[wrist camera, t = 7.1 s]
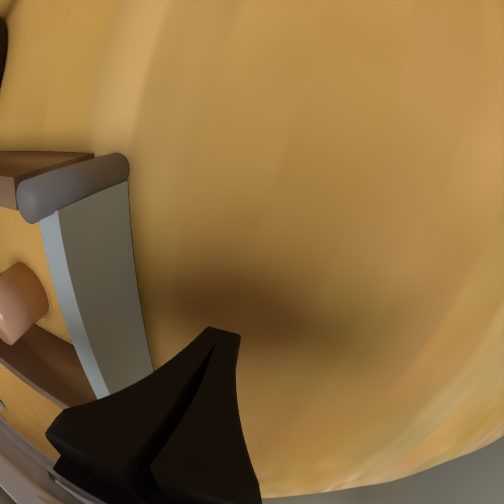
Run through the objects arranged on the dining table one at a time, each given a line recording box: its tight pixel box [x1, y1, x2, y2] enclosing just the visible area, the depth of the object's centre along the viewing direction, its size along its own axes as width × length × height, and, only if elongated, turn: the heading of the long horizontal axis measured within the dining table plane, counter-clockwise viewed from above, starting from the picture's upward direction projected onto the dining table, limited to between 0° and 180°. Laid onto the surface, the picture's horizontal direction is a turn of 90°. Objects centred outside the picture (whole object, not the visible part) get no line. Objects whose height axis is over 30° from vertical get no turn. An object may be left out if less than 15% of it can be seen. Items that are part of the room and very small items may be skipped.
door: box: [16, 153, 154, 399], centre depth 12 cm, size 14×1×5 cm, turn 176°
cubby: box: [0, 151, 98, 409], centre depth 13 cm, size 15×14×5 cm
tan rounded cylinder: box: [0, 262, 49, 345], centre depth 15 cm, size 4×4×4 cm
